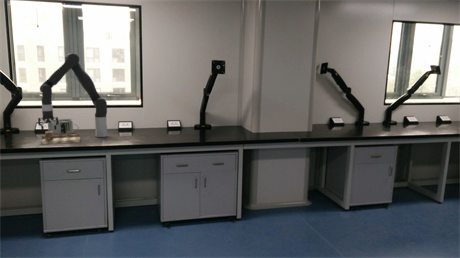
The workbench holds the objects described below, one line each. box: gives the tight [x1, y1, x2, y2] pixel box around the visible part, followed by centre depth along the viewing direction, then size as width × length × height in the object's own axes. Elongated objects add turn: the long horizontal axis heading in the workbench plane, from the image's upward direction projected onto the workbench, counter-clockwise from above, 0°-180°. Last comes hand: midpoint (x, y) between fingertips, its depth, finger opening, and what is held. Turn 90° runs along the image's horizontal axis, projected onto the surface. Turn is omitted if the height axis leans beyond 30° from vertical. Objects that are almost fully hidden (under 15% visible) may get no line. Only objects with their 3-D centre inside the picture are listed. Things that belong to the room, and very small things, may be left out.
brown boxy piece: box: [44, 130, 53, 140], centre depth 288 cm, size 5×10×6 cm, turn 23°
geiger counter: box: [47, 117, 79, 135], centre depth 320 cm, size 14×6×25 cm
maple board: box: [40, 133, 81, 145], centre depth 292 cm, size 28×14×4 cm, turn 113°
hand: (49, 130), depth 289 cm, fingers open, 8 cm apart
